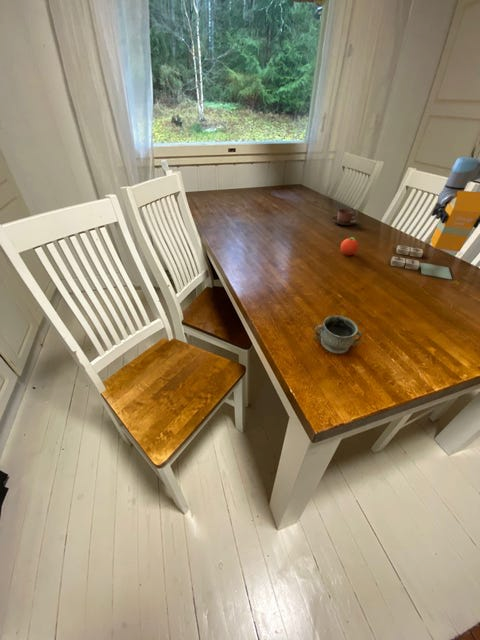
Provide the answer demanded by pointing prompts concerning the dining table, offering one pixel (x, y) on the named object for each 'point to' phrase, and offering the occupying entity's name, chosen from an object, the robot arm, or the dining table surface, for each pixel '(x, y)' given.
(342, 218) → the cup and saucer
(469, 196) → the orange juice
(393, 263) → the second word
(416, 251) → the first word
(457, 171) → the robot arm
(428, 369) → the dining table surface
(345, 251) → the tomato
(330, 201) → the dining table surface
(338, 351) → the vessel
